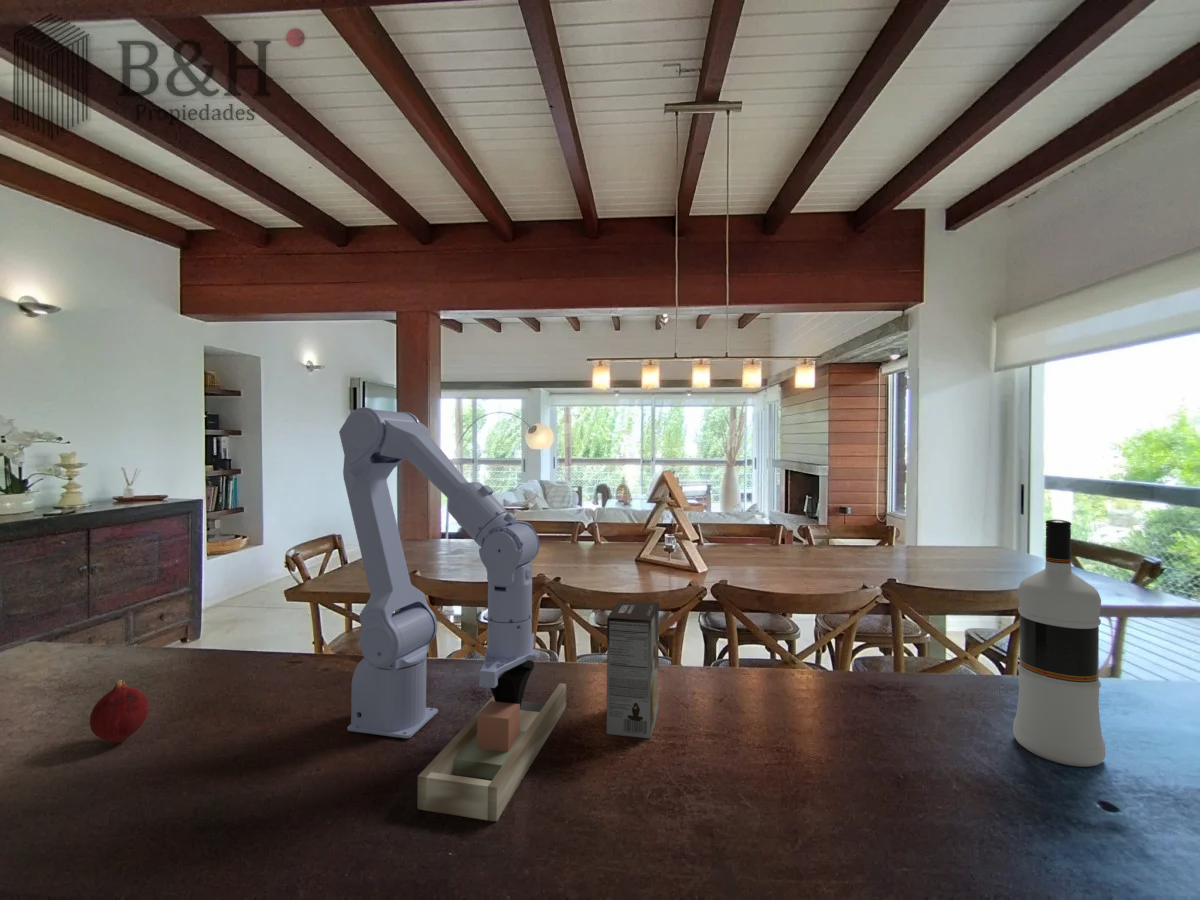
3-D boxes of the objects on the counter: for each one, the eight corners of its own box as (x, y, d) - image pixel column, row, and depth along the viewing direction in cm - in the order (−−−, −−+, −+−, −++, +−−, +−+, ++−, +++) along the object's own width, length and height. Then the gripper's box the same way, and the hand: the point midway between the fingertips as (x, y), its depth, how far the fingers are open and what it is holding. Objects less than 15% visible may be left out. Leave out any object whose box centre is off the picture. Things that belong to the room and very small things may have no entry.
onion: (157, 737, 73) (158, 676, 73) (104, 759, 68) (105, 693, 68) (133, 727, 76) (134, 669, 76) (79, 748, 71) (80, 685, 71)
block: (477, 748, 68) (477, 715, 68) (490, 731, 72) (490, 700, 72) (508, 752, 67) (508, 718, 67) (519, 735, 71) (520, 704, 71)
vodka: (996, 737, 75) (997, 516, 76) (1045, 728, 78) (1046, 515, 78) (1071, 776, 67) (1072, 525, 67) (1124, 764, 69) (1125, 523, 69)
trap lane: (417, 809, 59) (417, 776, 59) (509, 701, 85) (509, 678, 85) (496, 821, 57) (496, 787, 57) (566, 707, 83) (566, 683, 83)
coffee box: (616, 705, 84) (617, 598, 84) (659, 709, 83) (659, 601, 83) (605, 735, 75) (606, 616, 75) (652, 740, 74) (653, 619, 74)
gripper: (519, 636, 65) (518, 753, 65) (555, 603, 79) (554, 699, 79) (463, 632, 66) (462, 746, 66) (508, 600, 80) (507, 694, 80)
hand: (508, 720), depth 73 cm, fingers closed
